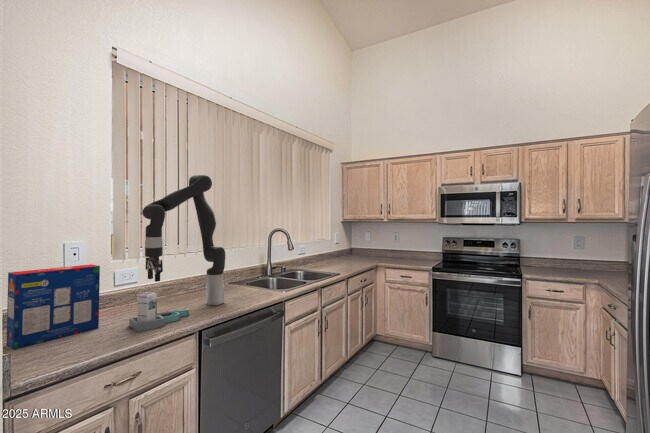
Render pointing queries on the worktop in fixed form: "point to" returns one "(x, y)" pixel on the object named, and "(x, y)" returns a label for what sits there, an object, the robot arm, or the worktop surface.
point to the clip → (171, 318)
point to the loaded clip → (181, 312)
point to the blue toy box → (51, 304)
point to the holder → (146, 324)
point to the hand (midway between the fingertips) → (153, 280)
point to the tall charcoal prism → (164, 314)
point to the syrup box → (146, 307)
